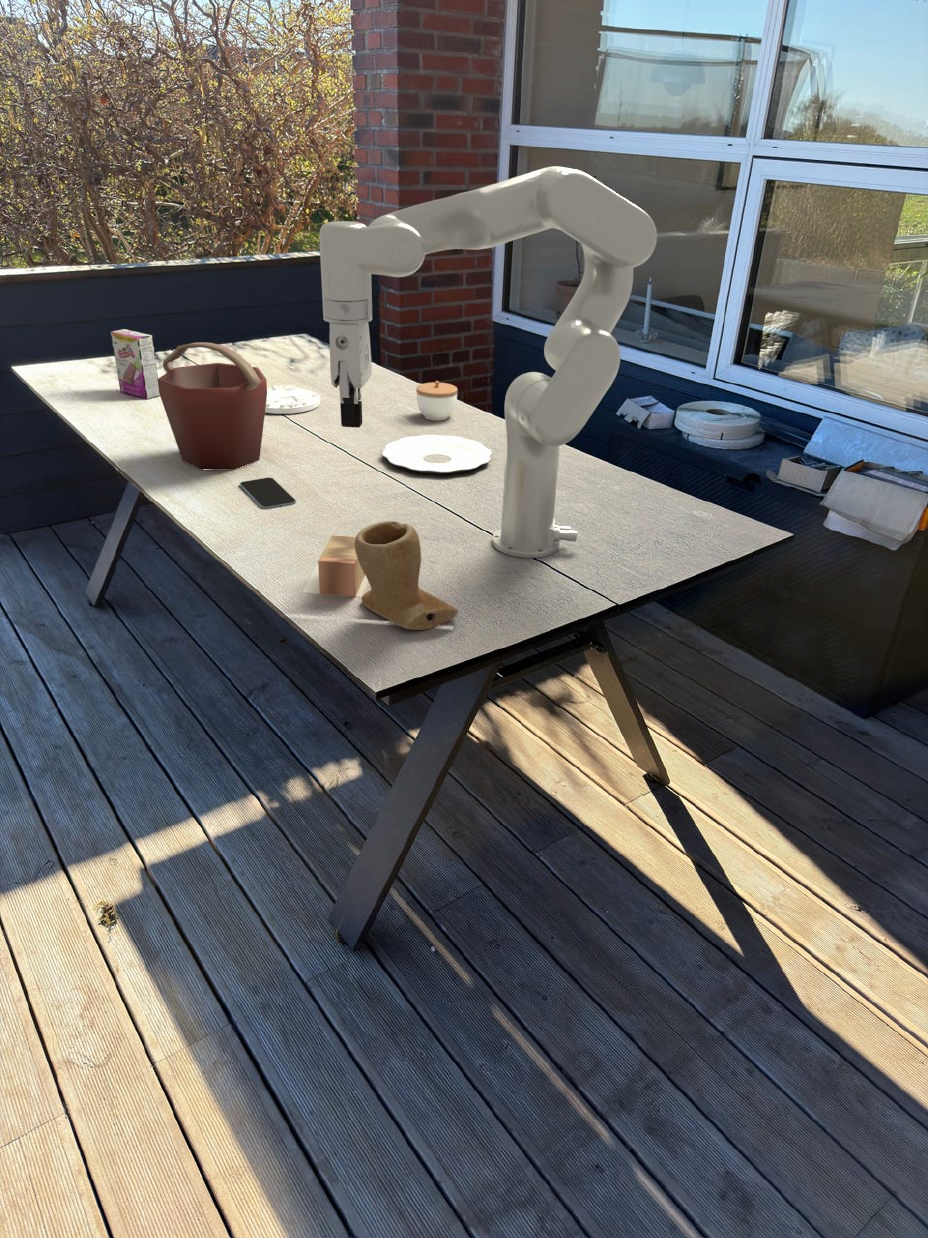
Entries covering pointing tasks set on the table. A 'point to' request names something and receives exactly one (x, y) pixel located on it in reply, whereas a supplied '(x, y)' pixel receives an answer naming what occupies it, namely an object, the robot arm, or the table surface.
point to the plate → (457, 448)
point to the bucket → (215, 409)
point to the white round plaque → (290, 400)
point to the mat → (314, 587)
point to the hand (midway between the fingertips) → (351, 425)
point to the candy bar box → (135, 363)
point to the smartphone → (267, 493)
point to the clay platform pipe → (397, 577)
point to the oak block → (340, 567)
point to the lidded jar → (436, 400)
